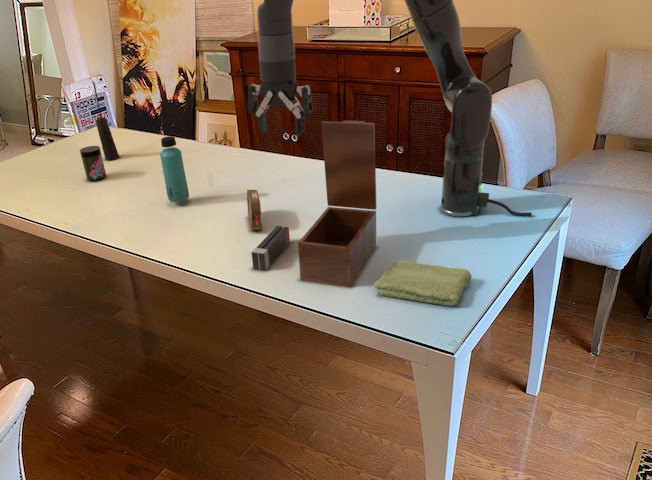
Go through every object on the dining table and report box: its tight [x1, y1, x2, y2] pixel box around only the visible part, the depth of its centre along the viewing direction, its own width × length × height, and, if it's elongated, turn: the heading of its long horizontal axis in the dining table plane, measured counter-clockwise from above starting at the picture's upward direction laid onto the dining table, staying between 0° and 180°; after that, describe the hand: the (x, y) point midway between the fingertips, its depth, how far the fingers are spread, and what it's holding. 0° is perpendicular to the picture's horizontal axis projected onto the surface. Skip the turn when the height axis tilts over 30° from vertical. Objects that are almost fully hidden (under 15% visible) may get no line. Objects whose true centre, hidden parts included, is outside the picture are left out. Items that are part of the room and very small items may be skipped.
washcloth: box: [373, 260, 473, 307], centre depth 131 cm, size 13×18×3 cm
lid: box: [320, 120, 377, 211], centre depth 143 cm, size 21×12×5 cm
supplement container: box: [79, 145, 107, 183], centre depth 210 cm, size 7×7×10 cm
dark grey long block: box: [251, 225, 291, 272], centre depth 150 cm, size 15×3×5 cm, turn 155°
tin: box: [246, 189, 262, 231], centre depth 166 cm, size 15×3×8 cm, turn 5°
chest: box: [297, 206, 377, 288], centre depth 142 cm, size 20×12×9 cm, turn 155°
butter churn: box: [92, 81, 120, 162], centre depth 224 cm, size 9×10×28 cm
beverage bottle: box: [159, 135, 190, 203], centre depth 181 cm, size 6×7×20 cm
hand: (281, 133), depth 137 cm, fingers open, 8 cm apart
